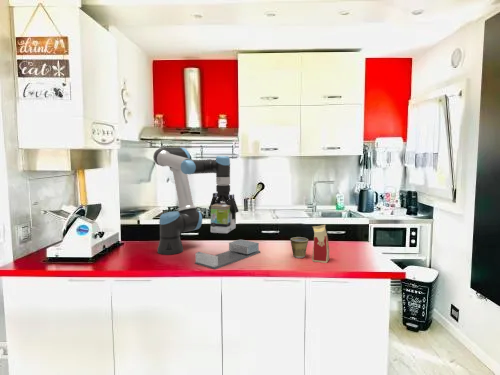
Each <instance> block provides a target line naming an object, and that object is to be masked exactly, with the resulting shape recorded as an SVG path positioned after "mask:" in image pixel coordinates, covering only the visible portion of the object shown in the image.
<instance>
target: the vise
mask: <svg viewBox="0 0 500 375" xmlns="http://www.w3.org/2000/svg"><path fill="white" fill-rule="evenodd" d="M257 254H261V250H258V251H256V252H253V253H250V254H243V253H239V252H235V251H230V250H227V251H224V252H221V253H218V254H215V255H213V254H209V253H205V252H201V251H197V252H195V262H194V264H195V265H199V266H203V267H207V268H210V269H213V270H217V269H219V268H222V267H225V266H228V265H231V264H233V262H234V263H236V262H238V261H239V262H240V261H241V259H242V260H244V259H247V258H250V257H252V255H253V256H255V255H257ZM249 256H250V257H249Z"/></svg>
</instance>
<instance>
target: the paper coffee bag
mask: <svg viewBox="0 0 500 375" xmlns="http://www.w3.org/2000/svg"><path fill="white" fill-rule="evenodd" d="M326 226H327V225H326V224H321V225H317V226H316V225H314V226H312V229H313V233H314V234H313V235H314V236H313V246H312V255H311V260H312V262H316V263H324V264H327V263H328V261H330V245H329V237H328V234H327V229H326Z"/></svg>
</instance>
